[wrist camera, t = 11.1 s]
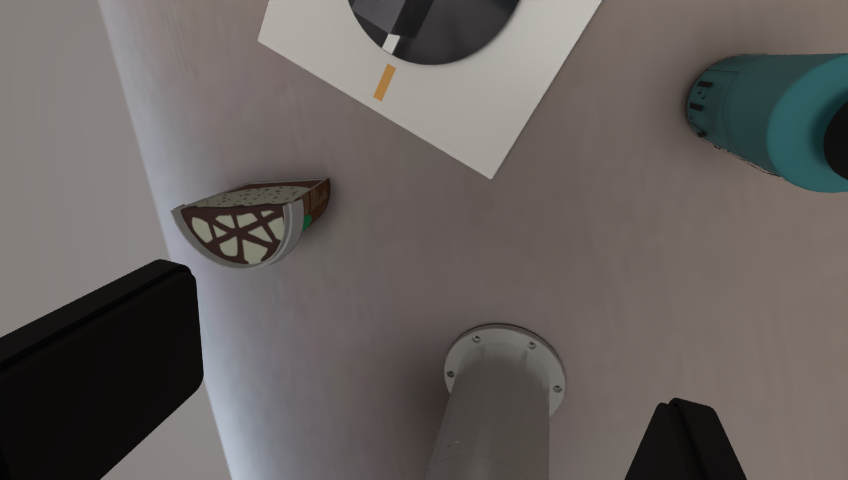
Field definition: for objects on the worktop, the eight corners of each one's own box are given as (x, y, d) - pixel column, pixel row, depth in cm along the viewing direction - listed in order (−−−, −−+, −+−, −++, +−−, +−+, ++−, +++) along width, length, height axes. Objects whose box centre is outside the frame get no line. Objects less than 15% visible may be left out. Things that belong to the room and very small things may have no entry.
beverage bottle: (675, 66, 34) (810, 71, 16) (779, 41, 32) (1071, 16, 14) (680, 150, 36) (807, 240, 18) (780, 133, 34) (1035, 214, 16)
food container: (251, 237, 50) (186, 275, 41) (237, 183, 48) (165, 211, 39) (352, 235, 47) (305, 276, 38) (342, 176, 45) (289, 206, 36)
